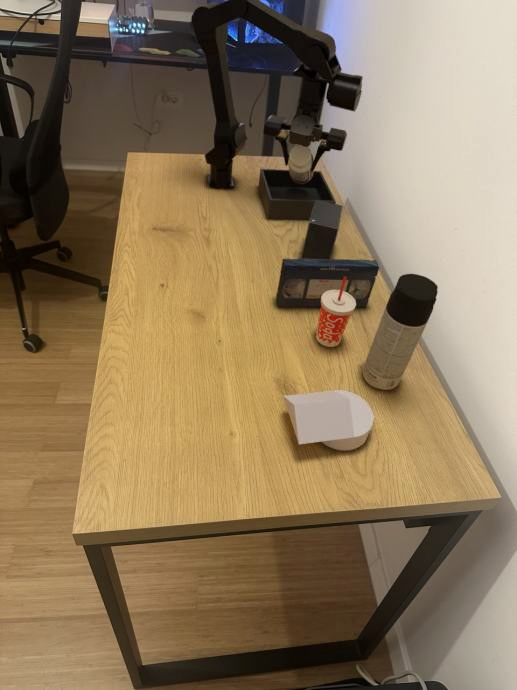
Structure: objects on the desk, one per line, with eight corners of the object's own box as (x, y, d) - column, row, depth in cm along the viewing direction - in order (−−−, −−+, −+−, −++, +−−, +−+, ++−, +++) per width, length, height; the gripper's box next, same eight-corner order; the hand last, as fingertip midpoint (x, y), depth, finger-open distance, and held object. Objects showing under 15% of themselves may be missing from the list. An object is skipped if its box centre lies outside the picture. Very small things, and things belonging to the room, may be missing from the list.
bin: (258, 187, 133) (260, 168, 129) (317, 189, 135) (320, 171, 132) (267, 219, 121) (270, 199, 118) (331, 220, 124) (336, 201, 120)
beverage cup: (305, 339, 92) (320, 277, 82) (321, 322, 96) (337, 261, 86) (335, 354, 90) (353, 293, 80) (350, 336, 94) (369, 276, 84)
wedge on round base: (295, 457, 73) (376, 446, 76) (302, 430, 69) (389, 419, 72) (280, 409, 80) (356, 400, 82) (286, 381, 75) (366, 373, 78)
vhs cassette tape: (276, 307, 98) (284, 265, 91) (275, 297, 100) (282, 255, 93) (367, 309, 100) (380, 268, 93) (363, 299, 102) (376, 259, 95)
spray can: (401, 370, 89) (442, 279, 75) (396, 397, 84) (439, 305, 70) (365, 358, 90) (398, 267, 76) (358, 384, 85) (392, 292, 71)
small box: (328, 271, 108) (339, 228, 101) (299, 264, 109) (307, 221, 102) (334, 245, 116) (344, 204, 109) (306, 239, 116) (314, 198, 109)
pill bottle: (303, 156, 128) (302, 136, 117) (318, 173, 128) (319, 155, 117) (284, 172, 129) (281, 153, 118) (300, 189, 128) (298, 172, 117)
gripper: (261, 103, 106) (253, 172, 117) (347, 121, 104) (331, 190, 115) (273, 88, 114) (265, 154, 125) (354, 104, 112) (338, 171, 123)
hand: (299, 167), depth 122 cm, fingers closed on pill bottle, 6 cm apart
